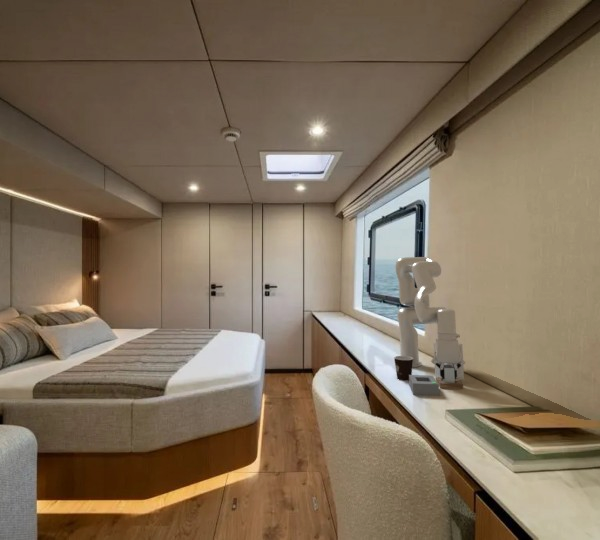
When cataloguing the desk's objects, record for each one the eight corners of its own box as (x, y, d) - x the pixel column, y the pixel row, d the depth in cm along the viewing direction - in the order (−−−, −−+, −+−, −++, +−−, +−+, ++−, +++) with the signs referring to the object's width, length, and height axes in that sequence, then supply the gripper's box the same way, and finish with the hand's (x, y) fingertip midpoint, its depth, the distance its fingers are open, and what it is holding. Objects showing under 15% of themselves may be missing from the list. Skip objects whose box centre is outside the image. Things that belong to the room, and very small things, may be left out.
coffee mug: (415, 382, 148) (414, 360, 149) (395, 381, 150) (395, 359, 150) (411, 374, 160) (410, 354, 160) (393, 374, 161) (392, 354, 162)
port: (409, 386, 143) (408, 373, 143) (433, 387, 141) (432, 374, 141) (413, 395, 131) (412, 382, 131) (439, 396, 129) (438, 383, 129)
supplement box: (450, 374, 158) (449, 340, 159) (464, 380, 149) (463, 343, 150) (434, 376, 156) (432, 341, 156) (447, 382, 147) (446, 345, 147)
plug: (442, 383, 144) (442, 364, 144) (452, 384, 143) (451, 364, 143) (445, 386, 140) (444, 366, 140) (454, 386, 139) (454, 367, 139)
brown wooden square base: (435, 382, 147) (435, 377, 147) (457, 383, 145) (456, 378, 145) (440, 389, 138) (440, 383, 138) (462, 390, 136) (462, 384, 136)
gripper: (464, 335, 144) (466, 376, 143) (425, 335, 147) (427, 375, 147) (469, 338, 137) (471, 381, 136) (428, 338, 140) (430, 380, 140)
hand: (448, 378), depth 142 cm, fingers closed on plug, 4 cm apart
